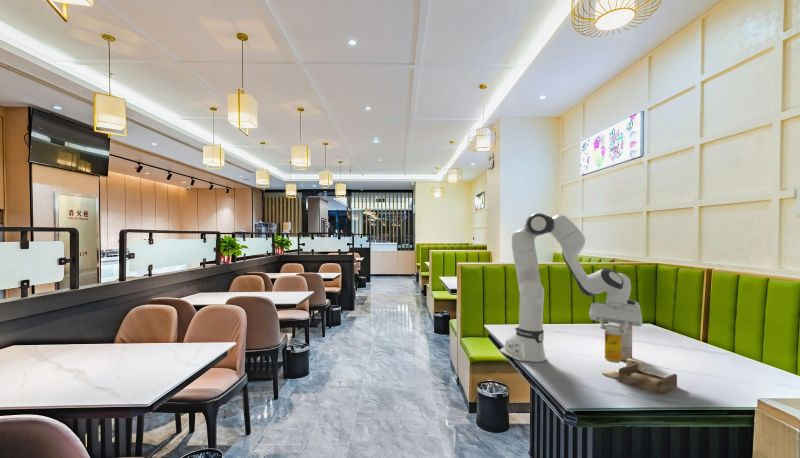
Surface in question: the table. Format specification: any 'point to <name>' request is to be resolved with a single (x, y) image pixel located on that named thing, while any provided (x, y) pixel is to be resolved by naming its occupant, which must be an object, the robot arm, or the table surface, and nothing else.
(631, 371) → the rack
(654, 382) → the offcut bottom
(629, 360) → the offcut top
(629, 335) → the cracker box
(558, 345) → the table surface
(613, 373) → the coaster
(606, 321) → the robot arm
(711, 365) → the table surface
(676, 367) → the table surface
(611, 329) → the beer glass
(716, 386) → the table surface
